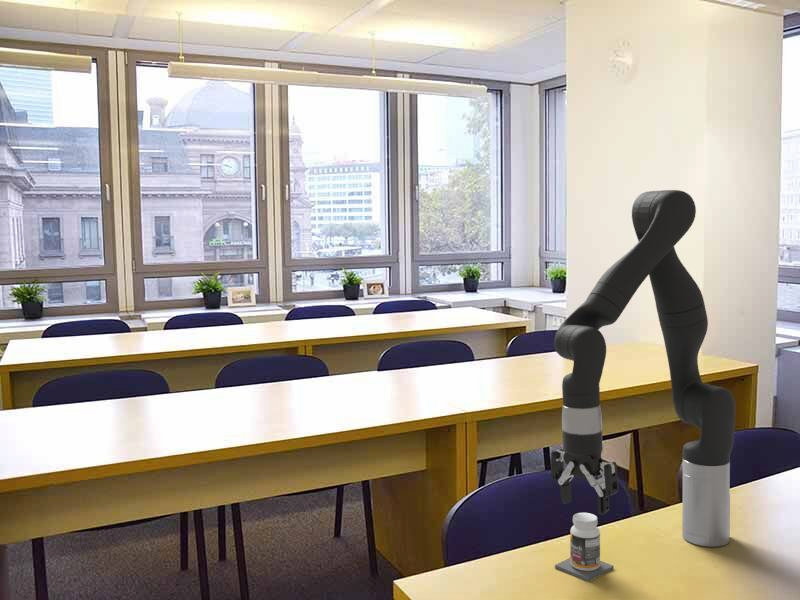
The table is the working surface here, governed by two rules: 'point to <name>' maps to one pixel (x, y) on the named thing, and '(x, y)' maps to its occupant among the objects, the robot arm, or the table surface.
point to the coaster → (584, 575)
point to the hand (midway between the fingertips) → (584, 508)
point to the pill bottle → (585, 542)
